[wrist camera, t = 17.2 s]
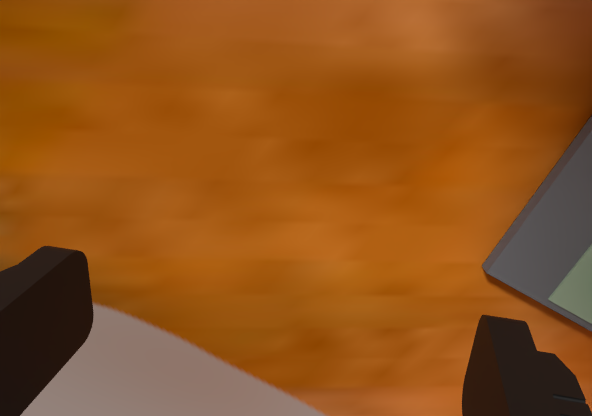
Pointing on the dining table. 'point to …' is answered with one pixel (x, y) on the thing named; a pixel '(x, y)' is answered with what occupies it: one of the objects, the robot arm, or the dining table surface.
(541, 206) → the picture board
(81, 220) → the dining table surface
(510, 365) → the robot arm
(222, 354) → the dining table surface
